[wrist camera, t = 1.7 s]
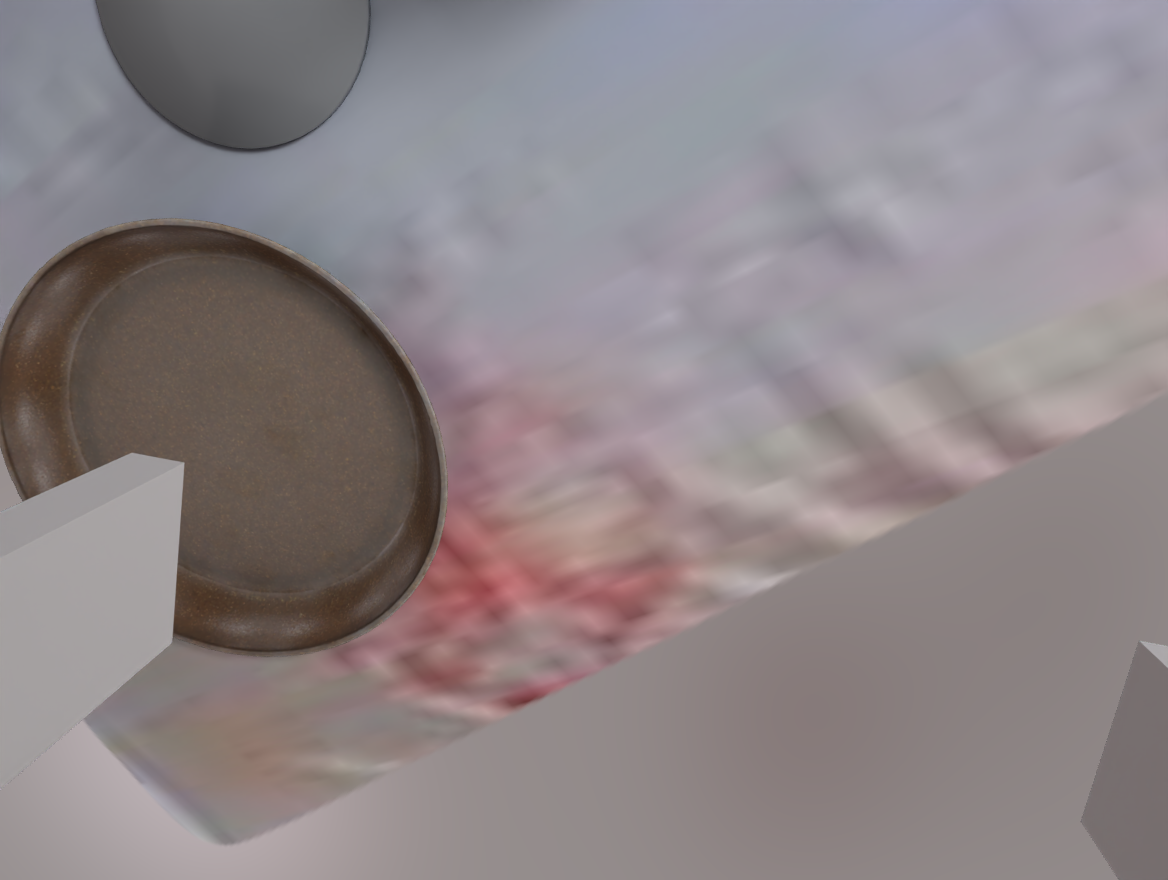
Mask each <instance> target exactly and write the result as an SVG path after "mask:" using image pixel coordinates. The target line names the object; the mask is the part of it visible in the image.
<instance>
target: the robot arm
mask: <svg viewBox="0 0 1168 880" xmlns="http://www.w3.org/2000/svg"><path fill="white" fill-rule="evenodd" d="M183 476H184V462H179V461H173V460H168V459H162V458H157V457H152V456H146V455H141V454H136V453H130V454H128V455H126V456H123V457H121V458H119V459H117V460H114V461H112V462H110V463H108V464H106V465H103V466H101V467H99V468H97V469H94V470H92V471H90V472H88V473H86V474H83V475H81V476H79V477H77V478H74V479H72V480H70V481H68V482H65V483H63V484H61V485H59V486H57V487H54V488H52V489H50V490H48V491H45V492H43V493H41V494H39V495H37V496H34V497H32V498H30V499H28V500H25V501H23V502H21V503H19V504H16V505H14V506H12V507H10V508H8V509H5V510H3V511H1V512H0V790H1V789H2V788H4V787H5V786H6V785H7V784H8V783H9V782H10V781H12V780H13V779H14V778H15V777H16V776H17V775H19V774H20V773H21V772H22V771H23V770H24V769H25V768H27V767H28V766H29V765H30V764H31V763H33V762H34V761H35V760H36V759H37V758H38V757H39V756H41V755H42V754H43V753H44V752H45V751H47V750H48V749H49V748H50V747H51V746H52V745H54V744H55V743H56V742H57V741H58V740H59V739H60V738H61V737H63V736H64V735H65V734H66V733H68V732H69V731H70V730H71V729H72V728H73V727H75V726H76V725H77V724H78V723H79V722H80V721H82V720H83V719H84V718H85V717H86V716H87V715H89V714H90V713H91V712H92V711H93V710H94V709H96V708H97V707H98V706H99V705H100V704H101V703H103V702H104V701H105V700H106V699H107V698H108V697H109V696H111V695H112V694H113V693H114V692H115V691H116V690H118V689H119V688H120V687H121V686H122V685H123V684H125V683H126V682H127V681H128V680H129V679H130V678H132V677H133V676H134V675H135V674H136V673H137V672H139V671H140V670H141V669H142V668H143V667H144V666H146V665H147V664H148V663H149V662H150V661H151V660H153V659H154V658H155V657H156V656H157V655H158V654H160V653H161V652H162V651H163V650H164V649H165V648H167V647H168V646H169V645H170V644H171V643H172V637H173V622H174V608H175V593H176V579H177V564H178V549H179V535H180V520H181V506H182V491H183ZM1081 822H1082V824H1083V826H1084V827H1085V829H1086V830H1087V832H1088V833H1089V835H1090V836H1091V838H1092V840H1093V841H1094V842H1095V844H1096V846H1097V847H1098V849H1099V850H1100V852H1101V853H1102V855H1103V856H1104V858H1105V860H1106V861H1107V862H1108V864H1109V866H1110V867H1111V869H1112V870H1113V872H1114V873H1115V875H1116V876H1117V878H1118V879H1119V880H1168V646H1165V645H1159V644H1154V643H1149V642H1143V641H1139V642H1138V645H1137V648H1136V651H1135V655H1134V658H1133V661H1132V664H1131V667H1130V670H1129V673H1128V676H1127V679H1126V683H1125V686H1124V689H1123V692H1122V695H1121V698H1120V701H1119V705H1118V707H1117V710H1116V713H1115V717H1114V720H1113V723H1112V726H1111V729H1110V732H1109V735H1108V738H1107V741H1106V744H1105V748H1104V751H1103V754H1102V757H1101V760H1100V763H1099V766H1098V769H1097V772H1096V776H1095V779H1094V782H1093V785H1092V788H1091V791H1090V794H1089V797H1088V800H1087V803H1086V807H1085V810H1084V813H1083V816H1082V819H1081Z"/></svg>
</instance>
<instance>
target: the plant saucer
mask: <svg viewBox="0 0 1168 880" xmlns="http://www.w3.org/2000/svg"><path fill="white" fill-rule="evenodd" d="M0 448H1V451H2V454H3V457H4V460H5V463H6V466H7V469H8V472H9V474H10V476H11V478H12V481H13V482H14V484H15V486H16V489H17V491H18V494H19V496H20V497H21V499H22V501H25V500H28V499H30V498H32V497H34V496H37V495H39V494H41V493H43V492H45V491H48V490H50V489H52V488H54V487H57V486H59V485H61V484H63V483H65V482H68V481H70V480H72V479H74V478H77V477H79V476H81V475H83V474H86V473H88V472H90V471H92V470H94V469H97V468H99V467H101V466H103V465H106V464H108V463H110V462H112V461H114V460H117V459H119V458H121V457H123V456H126V455H128V454H130V453H136V454H141V455H146V456H152V457H157V458H162V459H168V460H173V461H179V462H184V476H183V491H182V506H181V520H180V535H179V549H178V564H177V579H176V593H175V608H174V622H173V637H175V638H177V639H180V640H182V641H186V642H190V643H192V644H194V645H198V646H201V647H204V648H208V649H211V650H217V651H221V652H225V653H231V654H238V655H246V656H259V657H272V656H294V655H302V654H309V653H313V652H317V651H321V650H325V649H329V648H333V647H336V646H338V645H341V644H344V643H347V642H349V641H351V640H353V639H355V638H358V637H359V636H361V635H363V634H365V633H367V632H369V631H370V630H372V629H373V628H375V627H377V626H378V625H380V624H381V623H382V622H384V621H385V620H386V619H387V618H389V617H390V616H391V615H392V614H393V613H394V612H395V611H396V610H397V609H399V608H400V607H401V606H402V605H403V604H404V603H405V602H406V601H407V599H408V598H409V597H410V596H411V595H412V593H413V592H414V591H415V589H416V588H417V586H418V585H419V584H420V582H421V581H422V579H423V578H424V576H425V574H426V572H427V570H428V568H429V566H430V564H431V562H432V560H433V558H434V556H435V553H436V551H437V548H438V545H439V542H440V539H441V536H442V532H443V527H444V523H445V517H446V510H447V496H448V478H447V465H446V456H445V451H444V446H443V441H442V436H441V432H440V428H439V425H438V422H437V419H436V415H435V412H434V410H433V407H432V404H431V402H430V399H429V397H428V395H427V392H426V390H425V388H424V386H423V384H422V382H421V380H420V378H419V376H418V374H417V372H416V370H415V368H414V367H413V365H412V363H411V361H410V360H409V358H408V357H407V355H406V353H405V352H404V350H403V349H402V347H401V346H400V345H399V343H398V342H397V340H396V339H395V338H394V336H393V335H392V334H391V332H390V331H389V330H388V329H387V327H386V326H385V325H384V324H383V323H382V321H381V320H380V319H379V318H378V317H377V316H376V315H375V314H374V313H373V312H372V311H371V309H370V308H369V307H368V306H367V305H366V304H365V303H364V302H363V301H362V300H361V299H360V298H359V297H358V296H356V295H355V294H354V293H353V292H352V291H351V290H350V289H348V288H347V287H346V286H345V285H344V284H342V283H341V282H340V281H338V280H337V279H336V278H335V277H333V276H332V275H331V274H329V273H328V272H327V271H325V270H324V269H322V268H321V267H319V266H318V265H316V264H314V263H313V262H311V261H310V260H308V259H306V258H305V257H303V256H302V255H300V254H298V253H296V252H294V251H292V250H290V249H288V248H286V247H284V246H282V245H280V244H278V243H276V242H274V241H271V240H269V239H266V238H264V237H261V236H259V235H256V234H253V233H251V232H248V231H244V230H241V229H237V228H234V227H230V226H226V225H223V224H218V223H213V222H207V221H199V220H190V219H173V218H169V219H149V220H142V221H135V222H129V223H124V224H120V225H116V226H113V227H109V228H105V229H102V230H100V231H98V232H95V233H93V234H91V235H89V236H86V237H84V238H82V239H80V240H78V241H76V242H75V243H73V244H71V245H69V246H68V247H66V248H65V249H63V250H62V251H61V252H59V253H58V254H57V255H55V256H54V257H53V258H52V259H50V260H49V261H48V262H47V263H46V264H45V265H44V266H43V267H42V268H40V269H39V270H38V271H37V273H36V274H35V275H34V276H33V277H32V278H31V279H30V281H29V282H28V283H27V285H26V286H25V287H24V289H23V290H22V291H21V293H20V294H19V296H18V298H17V299H16V301H15V303H14V304H13V306H12V308H11V310H10V312H9V314H8V316H7V318H6V321H5V323H4V326H3V329H2V331H1V334H0Z"/></svg>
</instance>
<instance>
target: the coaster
mask: <svg viewBox="0 0 1168 880" xmlns="http://www.w3.org/2000/svg"><path fill="white" fill-rule="evenodd" d="M96 3H97V7H98V11H99V15H100V19H101V23H102V26H103V28H104V31H105V34H106V37H107V39H108V42H109V44H110V46H111V48H112V50H113V52H114V54H115V56H116V58H117V60H118V62H119V64H120V65H121V67H122V69H123V70H124V72H125V73H126V75H127V77H128V78H129V79H130V81H131V82H132V83H133V85H134V86H135V87H136V88H137V90H138V91H139V92H140V94H141V95H142V96H143V97H144V98H145V99H146V100H147V101H148V102H149V103H150V104H151V105H152V106H153V107H154V108H155V109H156V110H157V111H159V112H160V113H161V114H162V115H163V116H165V117H166V118H167V119H168V120H170V121H171V122H173V123H174V124H176V125H177V126H179V127H180V128H182V129H183V130H185V131H187V132H189V133H191V134H193V135H195V136H197V137H199V138H201V139H204V140H207V141H210V142H213V143H216V144H219V145H224V146H229V147H234V148H249V149H252V148H264V147H271V146H275V145H279V144H283V143H287V142H290V141H292V140H295V139H297V138H299V137H302V136H304V135H306V134H307V133H309V132H311V131H312V130H314V129H316V128H317V127H319V126H320V125H321V124H322V123H323V122H325V121H326V120H327V119H328V118H329V117H330V116H331V115H332V114H333V113H334V112H335V111H336V110H337V109H338V107H339V106H340V105H341V104H342V103H343V101H344V100H345V98H346V97H347V95H348V94H349V92H350V91H351V89H352V87H353V85H354V83H355V81H356V79H357V77H358V75H359V72H360V69H361V66H362V63H363V60H364V57H365V54H366V49H367V44H368V39H369V31H370V16H371V12H370V0H96Z"/></svg>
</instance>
